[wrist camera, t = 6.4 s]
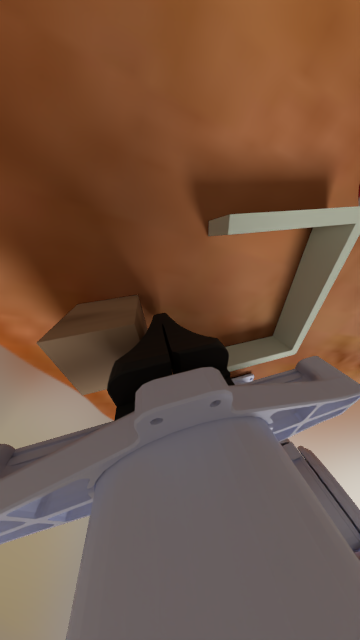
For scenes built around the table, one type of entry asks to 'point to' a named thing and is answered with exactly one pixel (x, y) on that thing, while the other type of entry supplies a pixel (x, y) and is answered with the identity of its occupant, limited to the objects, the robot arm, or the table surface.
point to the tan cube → (94, 340)
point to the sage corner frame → (310, 279)
